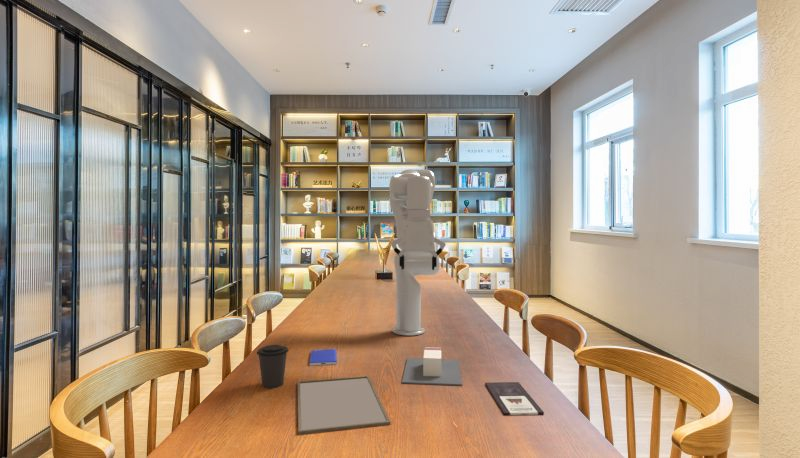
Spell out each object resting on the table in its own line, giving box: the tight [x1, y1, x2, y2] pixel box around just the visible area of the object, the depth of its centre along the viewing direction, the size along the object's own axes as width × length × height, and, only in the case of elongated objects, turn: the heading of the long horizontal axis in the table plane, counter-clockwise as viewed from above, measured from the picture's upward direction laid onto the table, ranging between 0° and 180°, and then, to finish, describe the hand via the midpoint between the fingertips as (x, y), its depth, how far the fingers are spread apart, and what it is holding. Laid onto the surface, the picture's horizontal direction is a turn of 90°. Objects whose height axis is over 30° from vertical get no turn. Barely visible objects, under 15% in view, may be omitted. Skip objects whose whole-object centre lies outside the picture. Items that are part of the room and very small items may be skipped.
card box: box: [422, 346, 443, 377], centre depth 125 cm, size 10×5×5 cm, turn 175°
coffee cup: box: [256, 344, 289, 389], centre depth 114 cm, size 8×8×10 cm
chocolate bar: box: [484, 381, 545, 416], centre depth 106 cm, size 9×1×18 cm
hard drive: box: [308, 348, 338, 367], centre depth 136 cm, size 2×8×12 cm
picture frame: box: [297, 375, 391, 435], centre depth 104 cm, size 19×1×28 cm
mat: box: [401, 357, 463, 387], centre depth 125 cm, size 20×16×1 cm
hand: (418, 269), depth 137 cm, fingers open, 9 cm apart
